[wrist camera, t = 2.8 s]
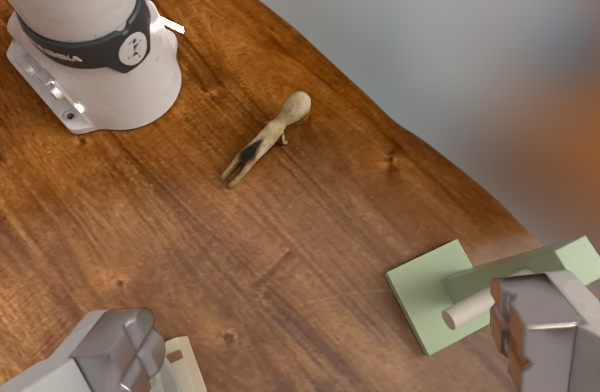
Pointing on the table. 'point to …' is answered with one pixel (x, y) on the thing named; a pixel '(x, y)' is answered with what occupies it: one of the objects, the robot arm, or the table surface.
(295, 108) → the figurine
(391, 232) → the table surface
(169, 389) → the tape
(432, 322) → the hook stand
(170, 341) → the tape cradle
